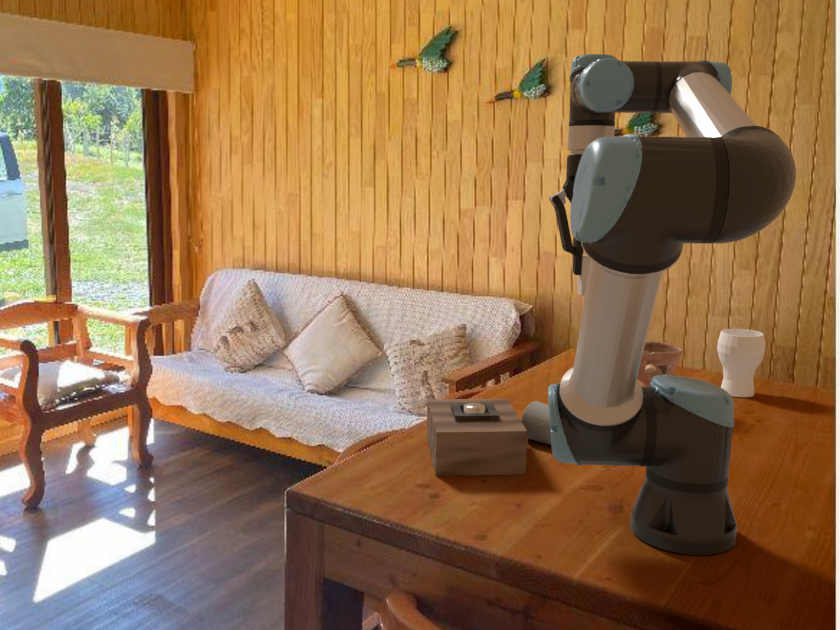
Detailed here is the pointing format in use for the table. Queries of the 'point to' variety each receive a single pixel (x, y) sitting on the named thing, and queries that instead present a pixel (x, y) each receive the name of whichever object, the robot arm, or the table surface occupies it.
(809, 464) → the table surface
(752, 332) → the cup
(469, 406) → the peg
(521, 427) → the socket block
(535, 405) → the ceramic mug
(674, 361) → the ceramic jug
